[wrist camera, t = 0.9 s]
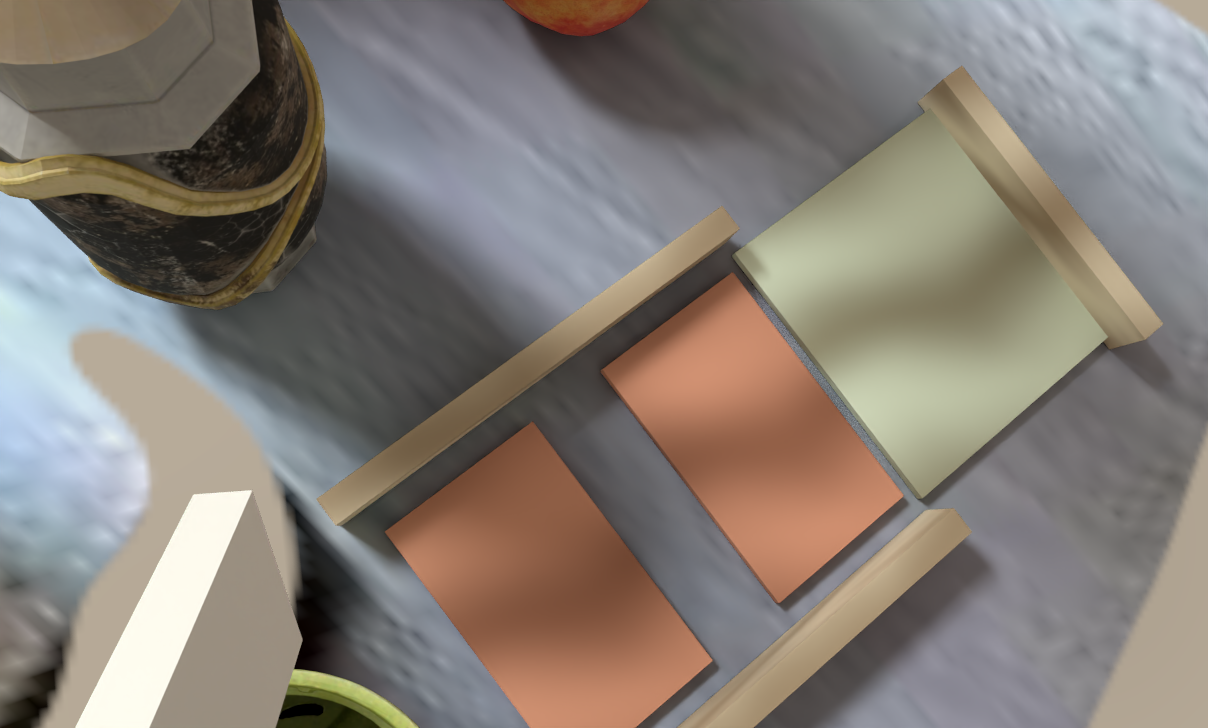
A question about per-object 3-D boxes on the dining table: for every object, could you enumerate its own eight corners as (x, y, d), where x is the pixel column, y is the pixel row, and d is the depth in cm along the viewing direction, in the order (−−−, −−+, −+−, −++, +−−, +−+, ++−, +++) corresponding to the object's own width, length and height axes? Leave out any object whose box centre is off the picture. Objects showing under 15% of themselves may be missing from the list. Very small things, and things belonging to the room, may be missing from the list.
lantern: (78, 95, 34) (-817, -1052, 9) (327, 75, 35) (115, -948, 11) (105, 349, 32) (-844, -209, 8) (361, 317, 34) (205, -233, 10)
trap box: (322, 501, 33) (316, 498, 31) (919, 68, 39) (945, 44, 37) (582, 851, 32) (592, 871, 30) (1142, 355, 39) (1180, 345, 37)
